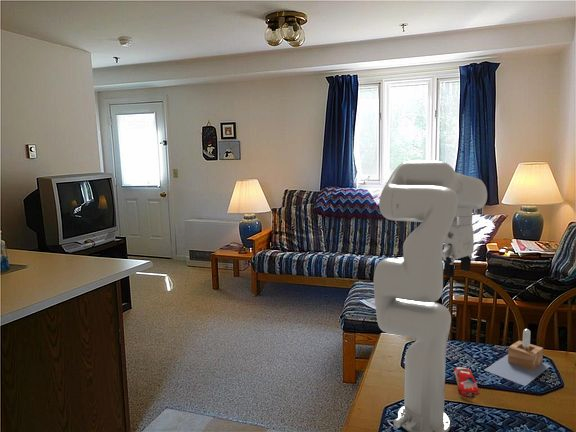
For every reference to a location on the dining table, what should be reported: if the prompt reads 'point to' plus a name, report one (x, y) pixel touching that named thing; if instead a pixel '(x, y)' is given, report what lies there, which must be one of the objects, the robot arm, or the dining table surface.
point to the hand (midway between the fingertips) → (457, 273)
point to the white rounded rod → (526, 340)
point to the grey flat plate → (515, 371)
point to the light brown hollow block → (525, 355)
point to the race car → (465, 382)
